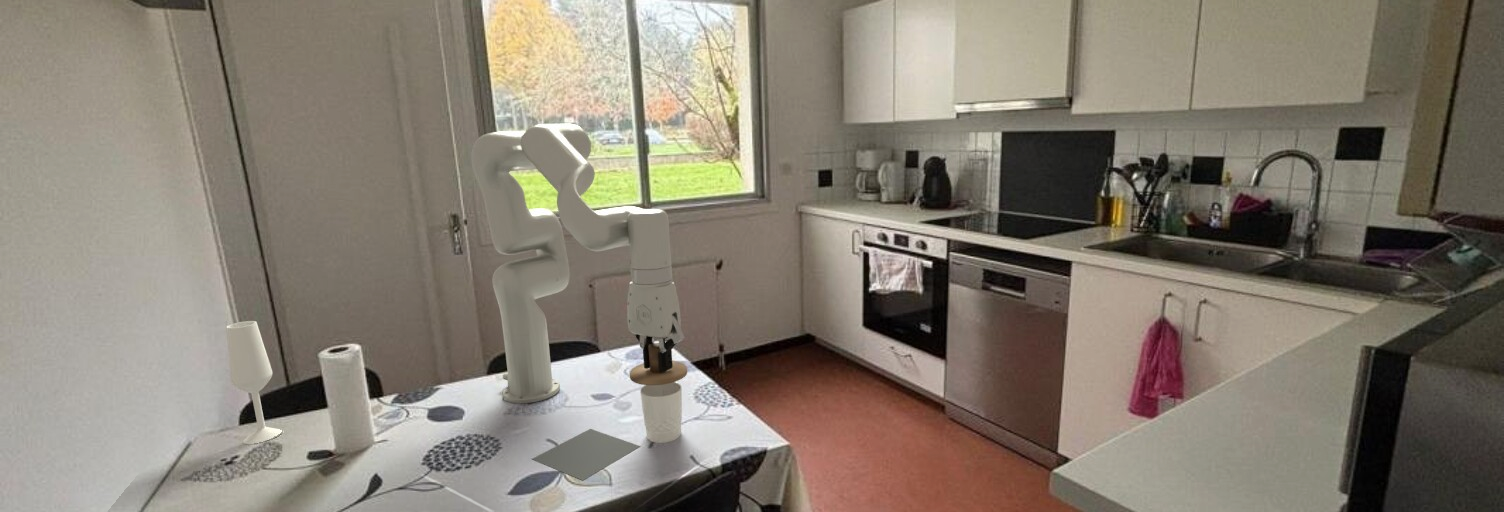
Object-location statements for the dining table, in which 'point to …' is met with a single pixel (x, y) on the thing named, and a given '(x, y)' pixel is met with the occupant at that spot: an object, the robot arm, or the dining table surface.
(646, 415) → the white cup
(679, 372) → the lid
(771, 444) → the dining table surface
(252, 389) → the champagne flute
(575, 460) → the mat
